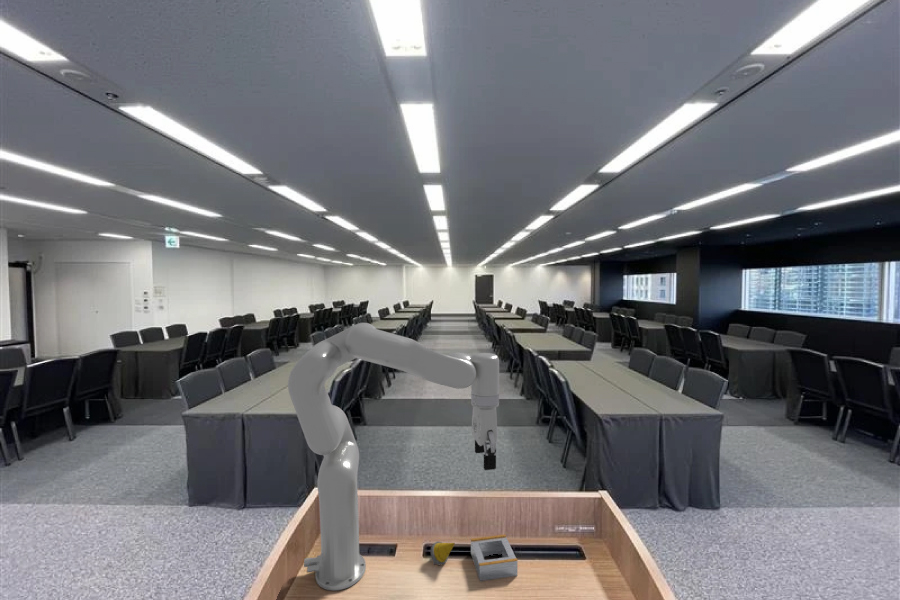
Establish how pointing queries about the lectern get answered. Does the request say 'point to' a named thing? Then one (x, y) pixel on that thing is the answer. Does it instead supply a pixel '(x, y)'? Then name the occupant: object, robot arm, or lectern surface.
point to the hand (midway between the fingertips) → (484, 460)
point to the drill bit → (441, 552)
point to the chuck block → (493, 566)
